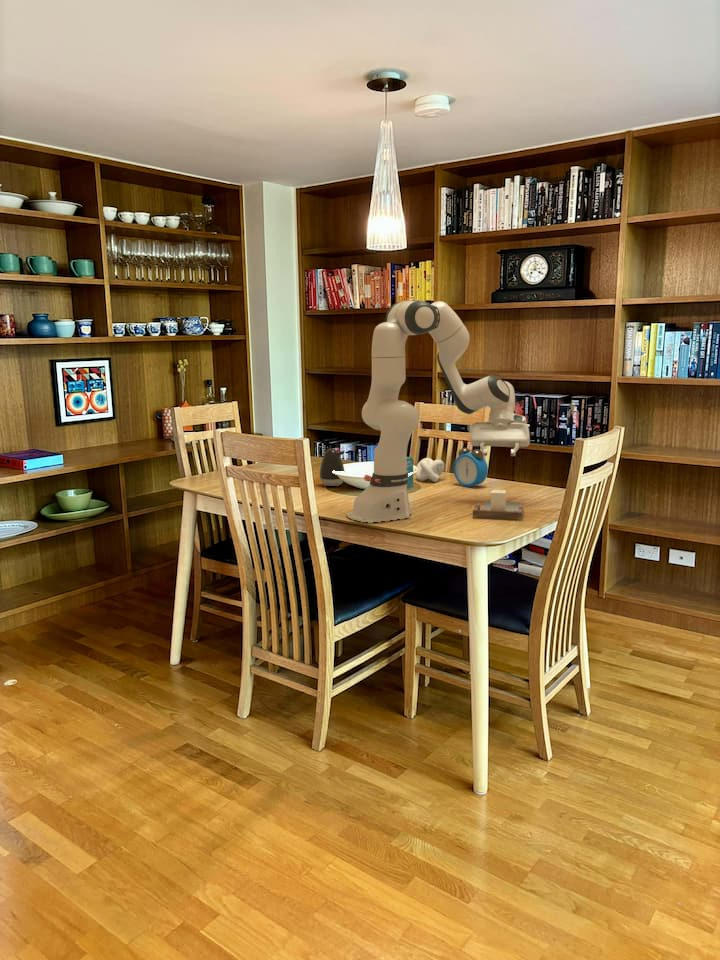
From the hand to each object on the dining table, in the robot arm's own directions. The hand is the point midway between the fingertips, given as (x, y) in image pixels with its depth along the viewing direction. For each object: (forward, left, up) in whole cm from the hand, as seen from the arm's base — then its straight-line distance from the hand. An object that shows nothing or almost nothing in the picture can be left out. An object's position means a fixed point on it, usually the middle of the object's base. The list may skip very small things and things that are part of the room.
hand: (498, 454), depth 252 cm
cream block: (-11, -11, -17) cm, 23 cm away
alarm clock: (+19, +34, -19) cm, 44 cm away
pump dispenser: (-23, +70, -19) cm, 76 cm away
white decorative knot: (+13, +52, -19) cm, 57 cm away
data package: (-5, +48, -19) cm, 52 cm away
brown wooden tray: (-10, -10, -19) cm, 23 cm away
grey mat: (0, -2, -19) cm, 19 cm away
